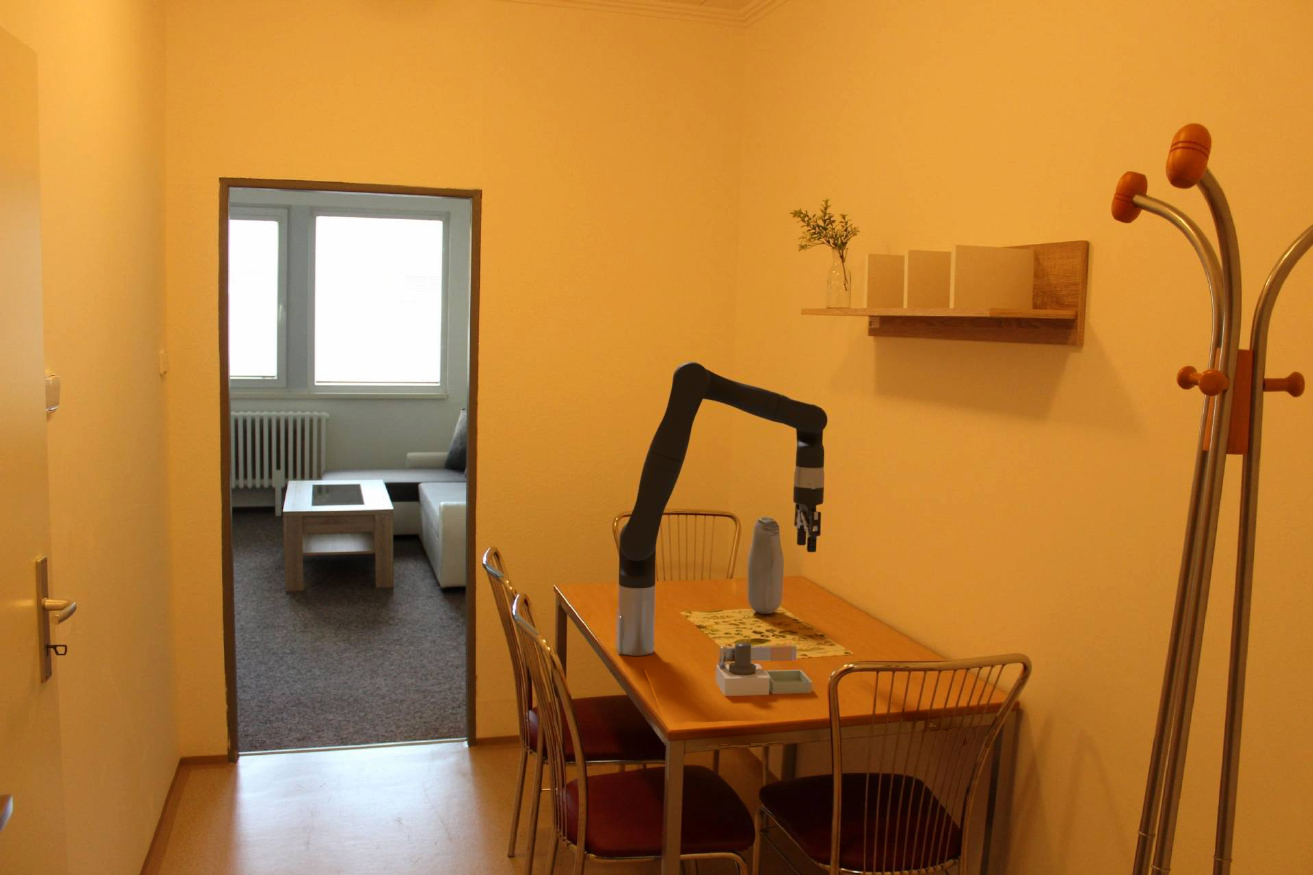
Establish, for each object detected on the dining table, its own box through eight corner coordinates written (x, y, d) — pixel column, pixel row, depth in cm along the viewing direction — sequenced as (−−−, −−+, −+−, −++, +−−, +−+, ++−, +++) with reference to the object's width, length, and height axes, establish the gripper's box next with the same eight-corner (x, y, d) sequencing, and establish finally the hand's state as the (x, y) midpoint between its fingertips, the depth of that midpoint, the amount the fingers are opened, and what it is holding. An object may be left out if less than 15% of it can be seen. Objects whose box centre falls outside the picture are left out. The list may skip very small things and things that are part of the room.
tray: (772, 694, 237) (773, 683, 237) (763, 681, 246) (763, 670, 246) (812, 693, 238) (812, 682, 238) (801, 680, 247) (801, 669, 247)
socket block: (724, 696, 235) (725, 678, 235) (715, 681, 245) (716, 664, 244) (768, 695, 236) (769, 677, 236) (758, 680, 246) (758, 663, 246)
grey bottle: (787, 615, 309) (790, 520, 306) (756, 618, 305) (759, 521, 302) (771, 607, 318) (774, 514, 315) (740, 610, 314) (743, 516, 311)
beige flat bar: (719, 668, 241) (720, 648, 241) (718, 666, 243) (718, 646, 243) (796, 666, 244) (796, 646, 244) (794, 664, 246) (794, 644, 245)
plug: (731, 692, 237) (732, 649, 236) (726, 683, 243) (727, 641, 242) (757, 691, 238) (759, 648, 237) (751, 683, 244) (753, 640, 243)
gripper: (786, 480, 273) (783, 543, 275) (802, 488, 259) (800, 554, 261) (814, 480, 274) (812, 543, 276) (832, 488, 260) (829, 554, 262)
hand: (806, 548), depth 268 cm, fingers open, 8 cm apart
